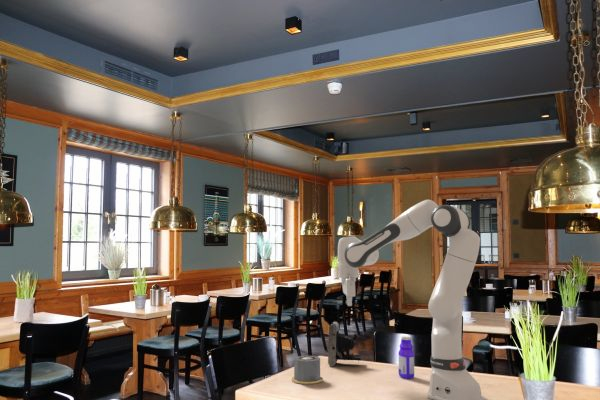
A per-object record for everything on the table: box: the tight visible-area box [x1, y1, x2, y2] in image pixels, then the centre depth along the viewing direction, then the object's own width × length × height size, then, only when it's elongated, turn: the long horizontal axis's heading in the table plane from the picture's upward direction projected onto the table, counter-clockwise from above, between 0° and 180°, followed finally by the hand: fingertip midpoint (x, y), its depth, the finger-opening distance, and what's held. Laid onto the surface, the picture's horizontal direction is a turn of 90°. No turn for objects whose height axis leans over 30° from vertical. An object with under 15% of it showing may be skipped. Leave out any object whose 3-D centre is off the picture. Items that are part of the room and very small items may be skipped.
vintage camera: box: [327, 320, 363, 367], centre depth 247 cm, size 10×16×20 cm, turn 78°
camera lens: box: [300, 357, 314, 360], centre depth 218 cm, size 6×6×4 cm
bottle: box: [398, 335, 415, 380], centre depth 224 cm, size 7×6×17 cm
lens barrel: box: [291, 355, 324, 385], centre depth 218 cm, size 13×13×9 cm
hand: (349, 305), depth 225 cm, fingers closed
